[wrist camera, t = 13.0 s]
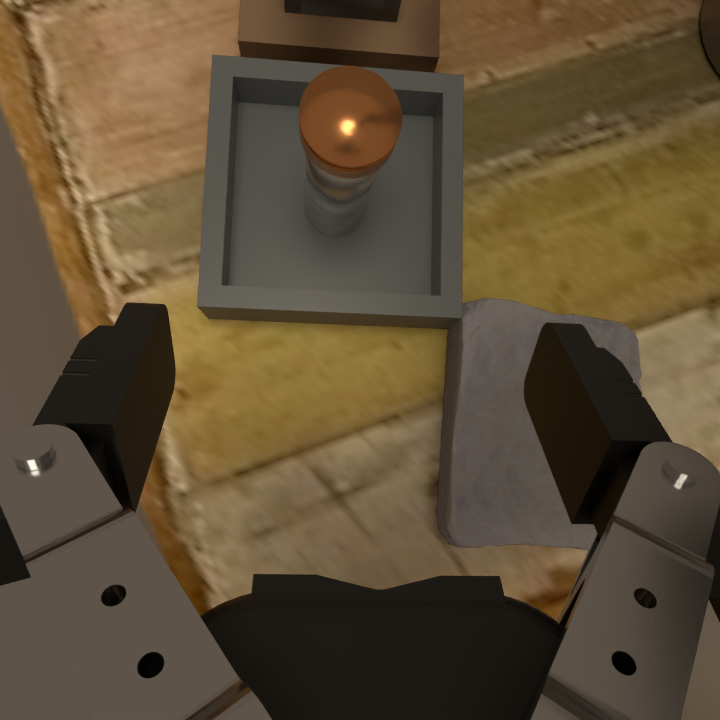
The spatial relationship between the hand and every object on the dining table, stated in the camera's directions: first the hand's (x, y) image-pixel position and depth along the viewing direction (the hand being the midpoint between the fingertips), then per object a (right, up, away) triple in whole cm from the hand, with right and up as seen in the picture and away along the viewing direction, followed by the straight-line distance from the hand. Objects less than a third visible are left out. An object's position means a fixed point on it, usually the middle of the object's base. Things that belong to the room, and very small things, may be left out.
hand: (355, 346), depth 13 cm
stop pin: (-1, +7, +17) cm, 18 cm away
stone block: (+9, -4, +18) cm, 20 cm away
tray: (-1, +8, +18) cm, 19 cm away
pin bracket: (-1, +19, +19) cm, 27 cm away
